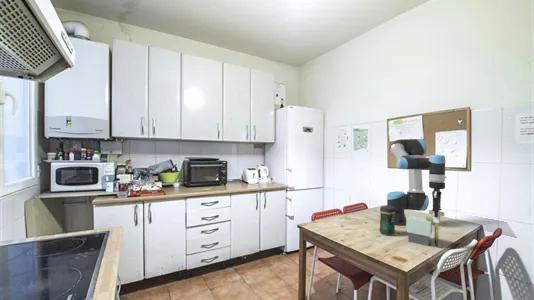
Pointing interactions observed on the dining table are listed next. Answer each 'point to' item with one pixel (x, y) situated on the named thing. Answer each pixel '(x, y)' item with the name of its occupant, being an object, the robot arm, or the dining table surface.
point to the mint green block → (418, 225)
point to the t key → (435, 225)
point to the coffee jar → (387, 220)
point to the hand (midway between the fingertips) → (436, 221)
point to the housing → (421, 239)
